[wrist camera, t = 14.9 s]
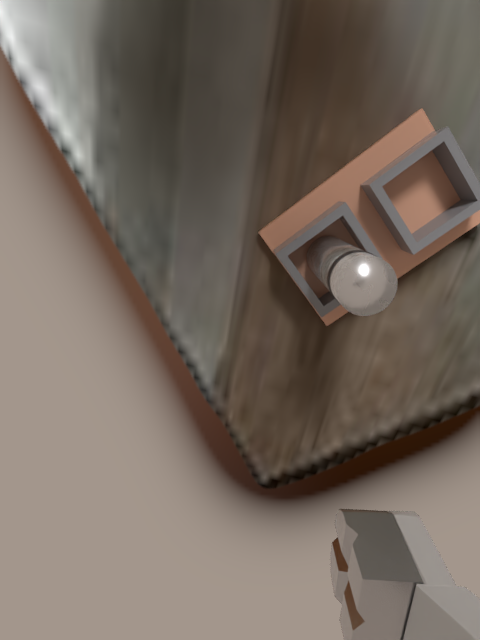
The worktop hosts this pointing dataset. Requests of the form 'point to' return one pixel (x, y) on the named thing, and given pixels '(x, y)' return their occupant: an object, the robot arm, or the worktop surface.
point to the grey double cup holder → (382, 207)
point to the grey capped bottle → (353, 275)
